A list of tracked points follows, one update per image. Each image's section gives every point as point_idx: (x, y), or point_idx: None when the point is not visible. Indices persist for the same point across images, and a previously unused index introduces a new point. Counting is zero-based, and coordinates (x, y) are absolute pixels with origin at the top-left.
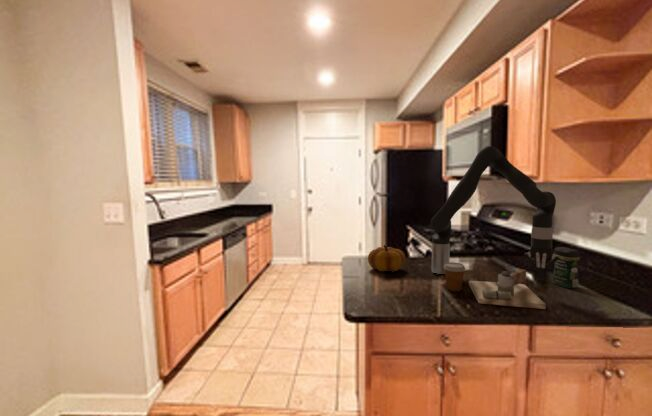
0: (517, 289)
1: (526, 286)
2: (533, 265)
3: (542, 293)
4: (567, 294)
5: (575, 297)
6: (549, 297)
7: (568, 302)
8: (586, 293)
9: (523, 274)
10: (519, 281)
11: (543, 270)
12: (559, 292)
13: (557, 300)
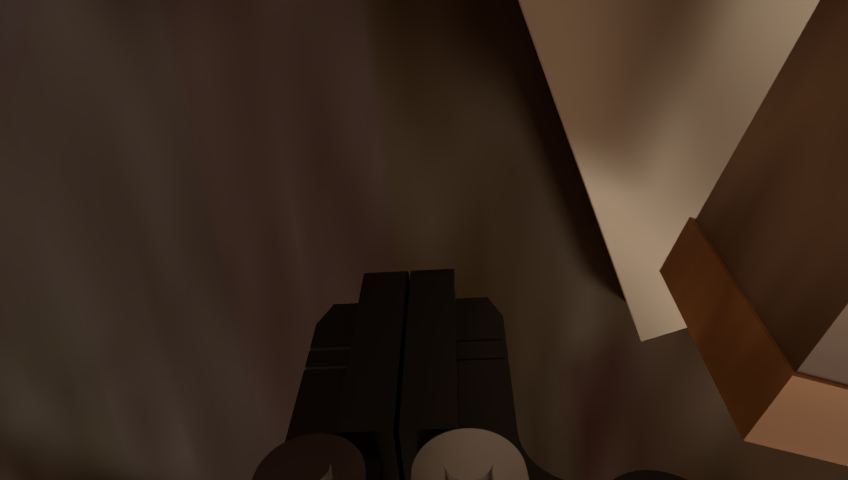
0: (774, 2)
1: (615, 257)
2: (645, 474)
3: (405, 230)
4: (165, 352)
5: (72, 298)
6: (307, 112)
7: (67, 45)
8: (40, 472)
9: (779, 280)
10: (830, 35)
11: (327, 397)
12: (247, 372)
13: (196, 41)
